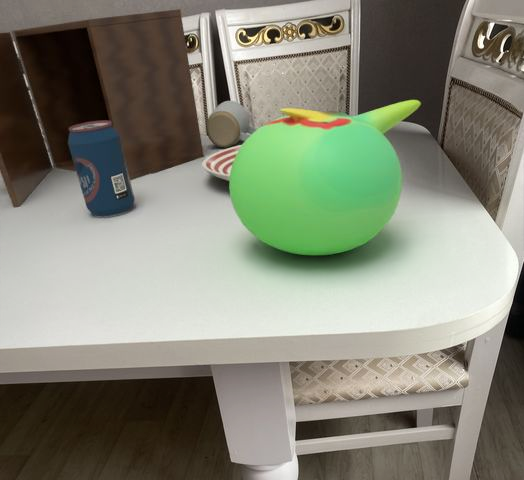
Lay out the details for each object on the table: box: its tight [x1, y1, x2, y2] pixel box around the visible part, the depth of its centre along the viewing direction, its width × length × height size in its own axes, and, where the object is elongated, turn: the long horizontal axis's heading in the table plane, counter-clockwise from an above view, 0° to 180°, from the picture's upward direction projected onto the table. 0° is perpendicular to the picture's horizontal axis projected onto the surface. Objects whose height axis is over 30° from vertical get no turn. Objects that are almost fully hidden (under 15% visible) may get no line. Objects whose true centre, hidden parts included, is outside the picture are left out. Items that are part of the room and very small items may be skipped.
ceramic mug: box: [205, 100, 258, 149], centre depth 105 cm, size 11×8×8 cm
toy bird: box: [228, 99, 422, 256], centre depth 54 cm, size 18×17×15 cm
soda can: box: [68, 120, 136, 219], centre depth 74 cm, size 7×7×12 cm
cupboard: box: [10, 8, 205, 181], centre depth 98 cm, size 18×26×24 cm
